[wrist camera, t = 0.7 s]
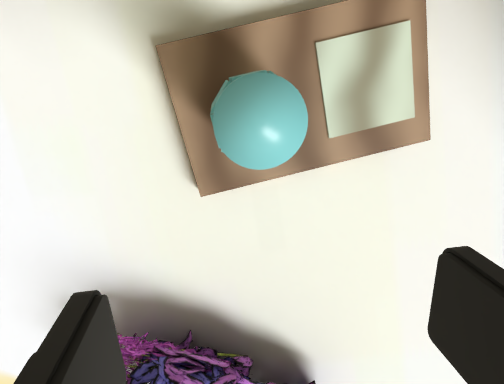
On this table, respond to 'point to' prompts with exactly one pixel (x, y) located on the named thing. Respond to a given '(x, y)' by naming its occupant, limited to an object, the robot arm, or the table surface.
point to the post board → (310, 83)
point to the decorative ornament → (182, 363)
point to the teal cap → (259, 119)
